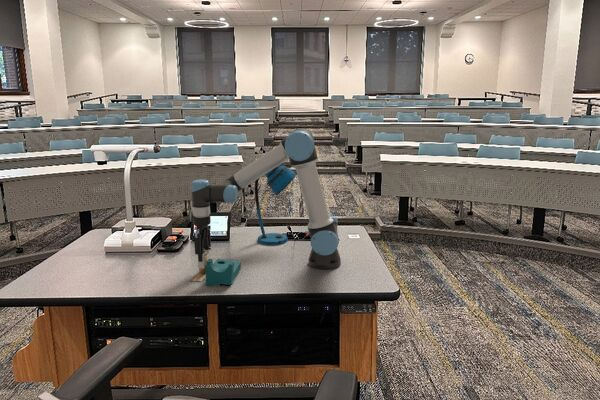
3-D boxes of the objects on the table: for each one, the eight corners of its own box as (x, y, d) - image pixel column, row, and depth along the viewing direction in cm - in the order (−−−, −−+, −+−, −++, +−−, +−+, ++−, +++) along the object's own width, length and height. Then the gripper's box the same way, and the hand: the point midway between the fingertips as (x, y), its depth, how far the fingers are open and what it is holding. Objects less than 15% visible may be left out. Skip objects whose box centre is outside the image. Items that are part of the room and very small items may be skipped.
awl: (210, 270, 218) (209, 247, 216) (207, 274, 214) (205, 250, 211) (201, 269, 219) (200, 246, 217) (197, 273, 215) (196, 249, 212)
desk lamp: (297, 245, 253) (296, 159, 243) (255, 245, 253) (252, 160, 242) (296, 235, 269) (296, 155, 259) (257, 236, 269) (254, 155, 258)
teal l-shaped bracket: (230, 288, 202) (232, 264, 200) (205, 285, 203) (206, 261, 200) (240, 271, 220) (241, 250, 217) (216, 269, 220) (217, 247, 218)
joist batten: (215, 268, 222) (215, 267, 222) (200, 282, 207) (200, 281, 207) (204, 267, 223) (204, 266, 223) (189, 281, 208) (189, 280, 208)
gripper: (201, 209, 220) (203, 258, 225) (184, 220, 203) (187, 272, 208) (217, 210, 218) (219, 259, 223) (201, 221, 201) (203, 273, 207)
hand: (203, 265), depth 216 cm, fingers closed on awl, 4 cm apart
